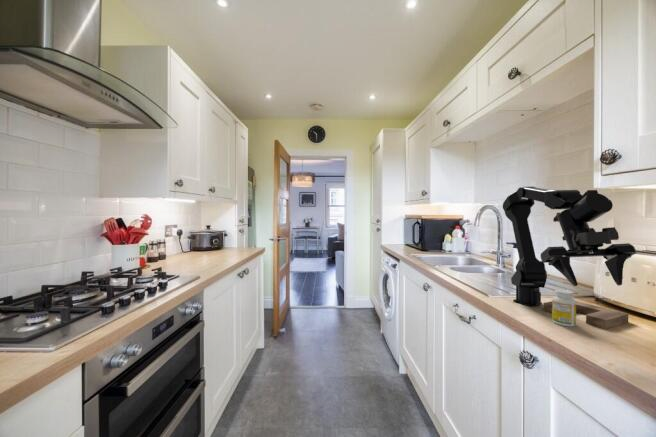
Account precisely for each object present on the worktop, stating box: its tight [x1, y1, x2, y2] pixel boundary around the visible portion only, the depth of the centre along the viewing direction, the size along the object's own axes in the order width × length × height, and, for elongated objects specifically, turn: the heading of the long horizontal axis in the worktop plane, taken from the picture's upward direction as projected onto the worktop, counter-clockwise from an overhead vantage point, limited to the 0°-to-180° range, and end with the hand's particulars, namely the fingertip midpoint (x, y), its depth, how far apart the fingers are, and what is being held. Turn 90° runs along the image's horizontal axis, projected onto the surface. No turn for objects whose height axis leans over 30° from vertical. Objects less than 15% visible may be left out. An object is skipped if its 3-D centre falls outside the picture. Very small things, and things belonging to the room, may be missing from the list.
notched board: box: [542, 300, 629, 330], centre depth 87 cm, size 16×12×2 cm
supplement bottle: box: [551, 288, 577, 328], centre depth 82 cm, size 5×5×10 cm
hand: (597, 285), depth 70 cm, fingers open, 9 cm apart
